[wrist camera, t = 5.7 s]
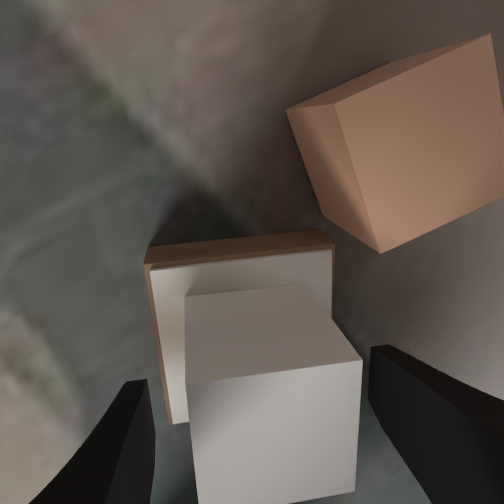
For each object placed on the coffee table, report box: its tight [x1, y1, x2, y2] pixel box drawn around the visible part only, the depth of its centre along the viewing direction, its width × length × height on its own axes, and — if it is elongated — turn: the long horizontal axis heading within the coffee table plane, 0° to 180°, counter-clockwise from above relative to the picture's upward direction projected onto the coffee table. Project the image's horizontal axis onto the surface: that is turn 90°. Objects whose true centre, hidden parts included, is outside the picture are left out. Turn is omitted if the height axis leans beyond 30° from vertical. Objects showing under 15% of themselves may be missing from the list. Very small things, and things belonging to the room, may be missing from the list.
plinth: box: [143, 229, 335, 425], centre depth 16 cm, size 7×7×2 cm
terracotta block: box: [285, 33, 504, 254], centre depth 13 cm, size 4×4×5 cm
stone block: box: [184, 284, 363, 504], centre depth 13 cm, size 4×4×5 cm
